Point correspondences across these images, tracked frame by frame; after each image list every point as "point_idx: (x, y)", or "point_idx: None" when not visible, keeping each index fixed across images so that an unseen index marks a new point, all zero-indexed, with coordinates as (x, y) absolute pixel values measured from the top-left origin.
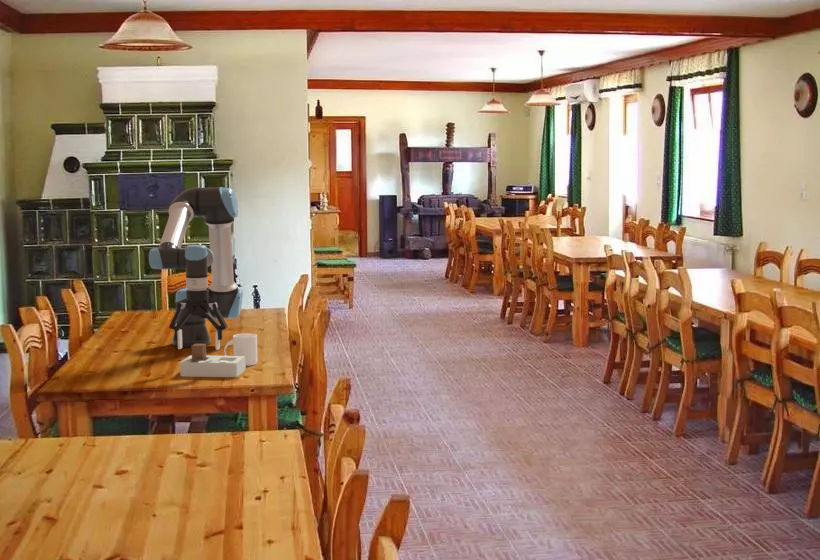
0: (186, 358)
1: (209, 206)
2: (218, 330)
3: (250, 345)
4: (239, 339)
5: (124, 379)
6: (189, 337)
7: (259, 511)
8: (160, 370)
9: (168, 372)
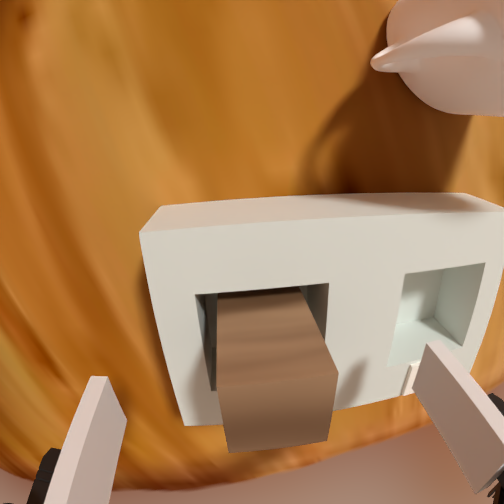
0: (167, 345)
1: None
2: (497, 495)
3: None
4: None
5: (29, 410)
6: None
7: None
8: (30, 271)
9: (87, 308)
